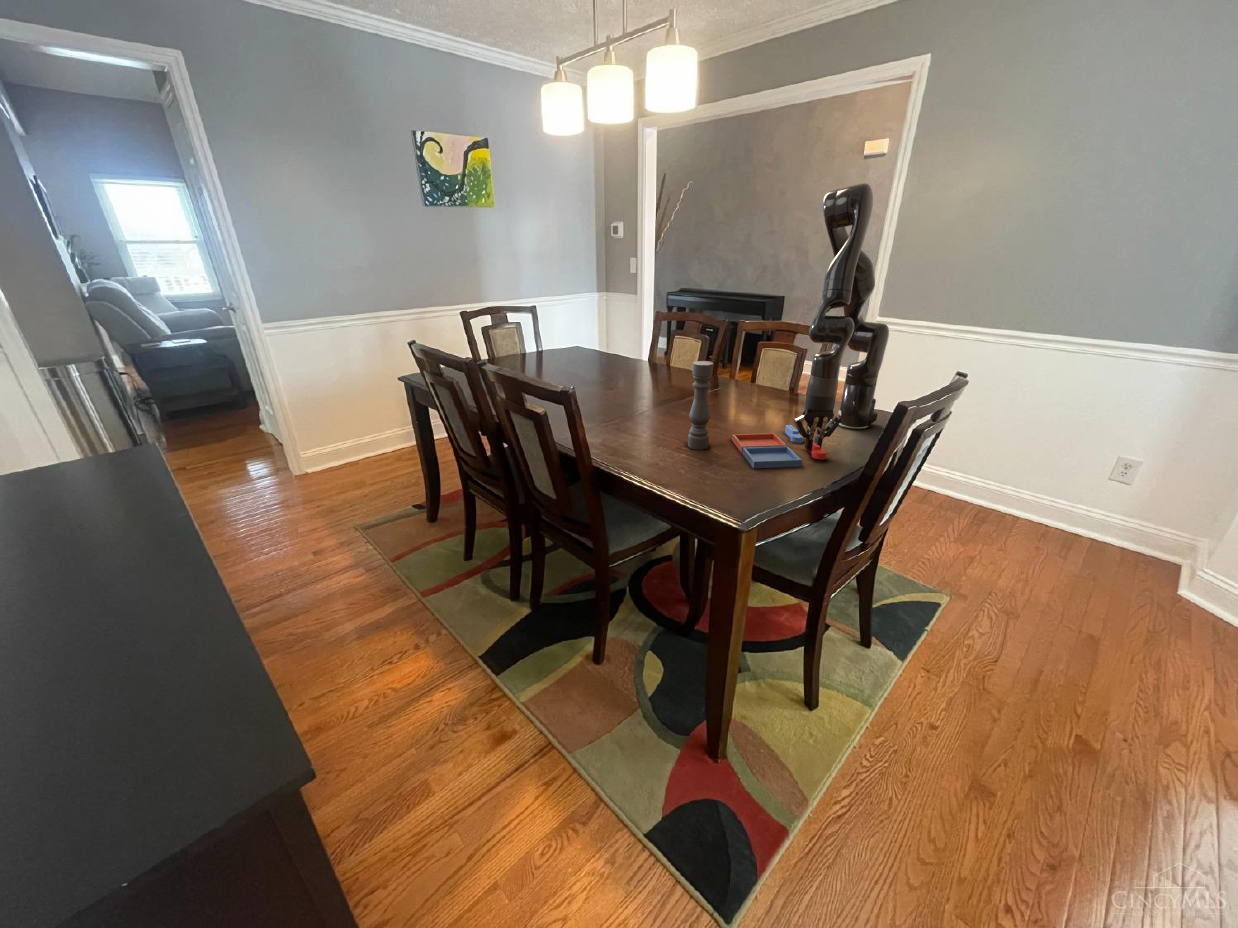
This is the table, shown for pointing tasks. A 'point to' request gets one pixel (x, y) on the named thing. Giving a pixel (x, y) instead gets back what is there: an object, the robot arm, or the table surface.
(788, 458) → the blue tray
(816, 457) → the red stepped block
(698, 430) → the candle holder
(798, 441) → the blue stepped block
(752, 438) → the red tray
